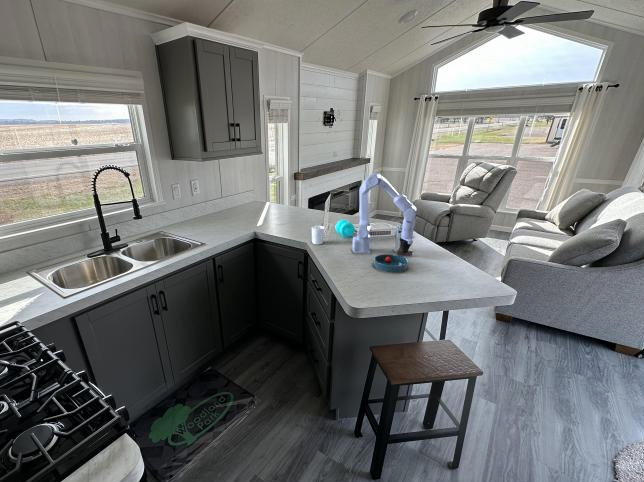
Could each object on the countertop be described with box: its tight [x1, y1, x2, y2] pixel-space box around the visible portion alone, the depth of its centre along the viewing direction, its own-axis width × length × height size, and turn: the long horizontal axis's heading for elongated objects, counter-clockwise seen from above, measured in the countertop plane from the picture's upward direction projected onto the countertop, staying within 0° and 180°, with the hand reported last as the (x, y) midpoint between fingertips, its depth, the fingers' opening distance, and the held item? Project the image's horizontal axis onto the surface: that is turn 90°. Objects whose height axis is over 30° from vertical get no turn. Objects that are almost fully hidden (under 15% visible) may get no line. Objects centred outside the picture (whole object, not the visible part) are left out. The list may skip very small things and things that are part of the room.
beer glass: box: [393, 223, 403, 253], centre depth 185 cm, size 7×7×15 cm
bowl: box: [373, 253, 409, 273], centre depth 168 cm, size 16×16×4 cm
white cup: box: [311, 225, 326, 245], centre depth 203 cm, size 8×8×10 cm
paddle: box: [395, 249, 413, 256], centre depth 179 cm, size 8×2×2 cm, turn 86°
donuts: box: [335, 219, 356, 238], centre depth 214 cm, size 10×10×10 cm
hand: (404, 252), depth 179 cm, fingers closed on paddle, 2 cm apart
